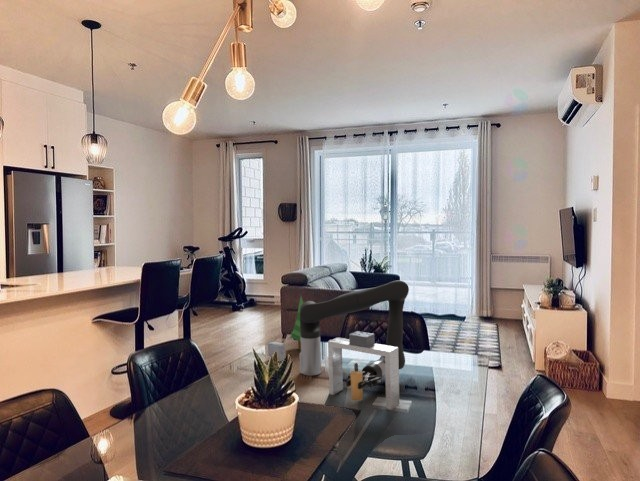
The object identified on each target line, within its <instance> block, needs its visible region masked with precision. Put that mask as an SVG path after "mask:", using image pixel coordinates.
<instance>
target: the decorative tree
mask: <svg viewBox="0 0 640 481" xmlns="http://www.w3.org/2000/svg"><path fill="white" fill-rule="evenodd" d="M303 303H304V300H303V297H302V296H300V298H299V303H298V308H297V314H296V319H295V323H294V327H293V328H292V331H291V333H290V336H289V339H294V340H296V341H298V346H297V347H298V350H299V351H301V336H300V307H301V305H302V304H303Z"/></svg>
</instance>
